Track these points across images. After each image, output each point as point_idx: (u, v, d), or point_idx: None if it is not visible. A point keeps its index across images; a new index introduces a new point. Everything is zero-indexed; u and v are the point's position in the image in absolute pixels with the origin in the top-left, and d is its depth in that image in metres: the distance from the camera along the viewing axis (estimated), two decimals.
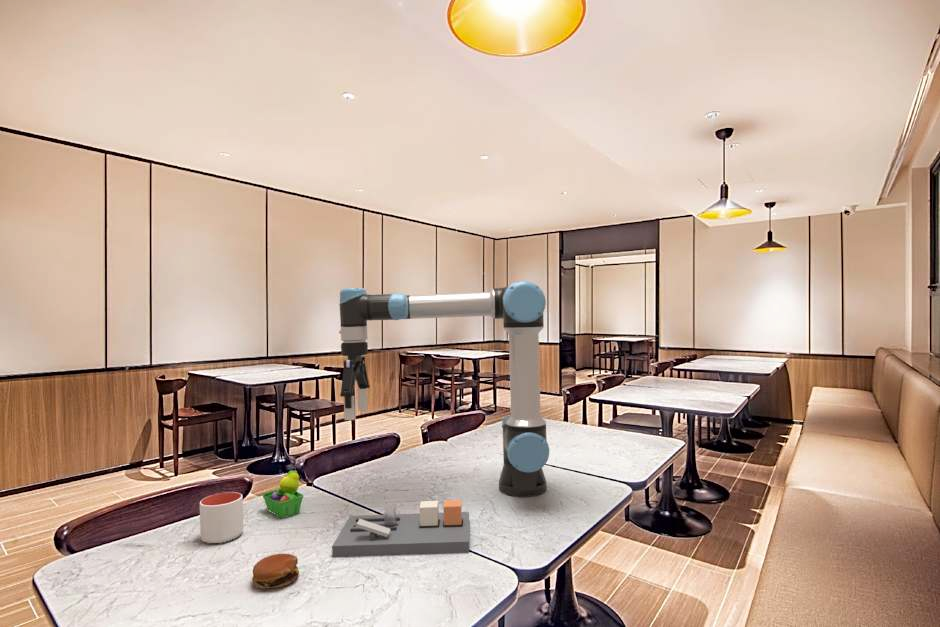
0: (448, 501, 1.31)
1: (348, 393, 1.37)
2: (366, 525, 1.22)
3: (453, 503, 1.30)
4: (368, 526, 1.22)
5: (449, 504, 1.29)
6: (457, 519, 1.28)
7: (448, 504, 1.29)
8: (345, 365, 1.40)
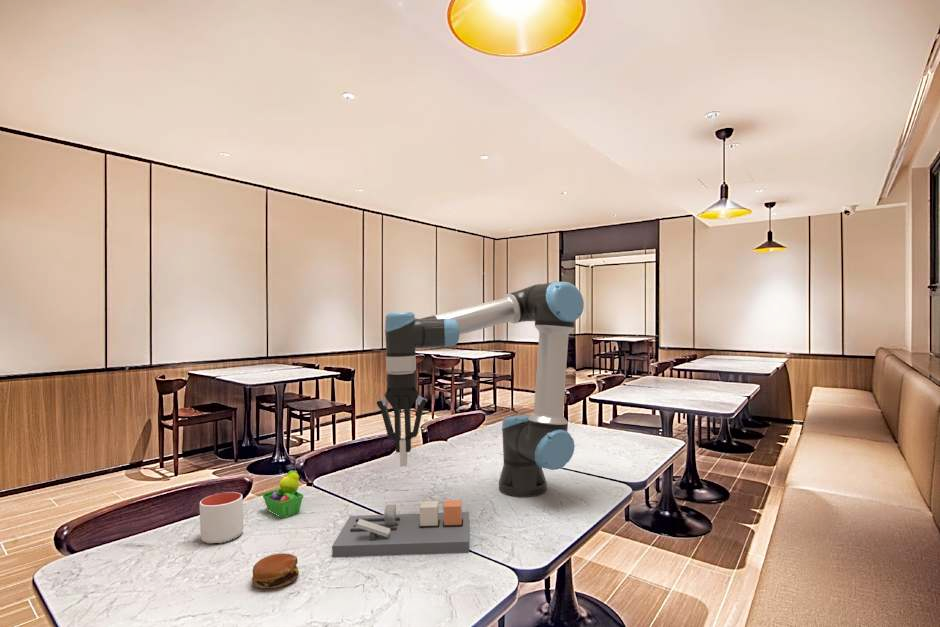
0: (448, 501, 1.31)
1: None
2: (366, 525, 1.22)
3: (453, 503, 1.30)
4: (368, 526, 1.22)
5: (449, 504, 1.29)
6: (457, 519, 1.28)
7: (448, 504, 1.29)
8: None
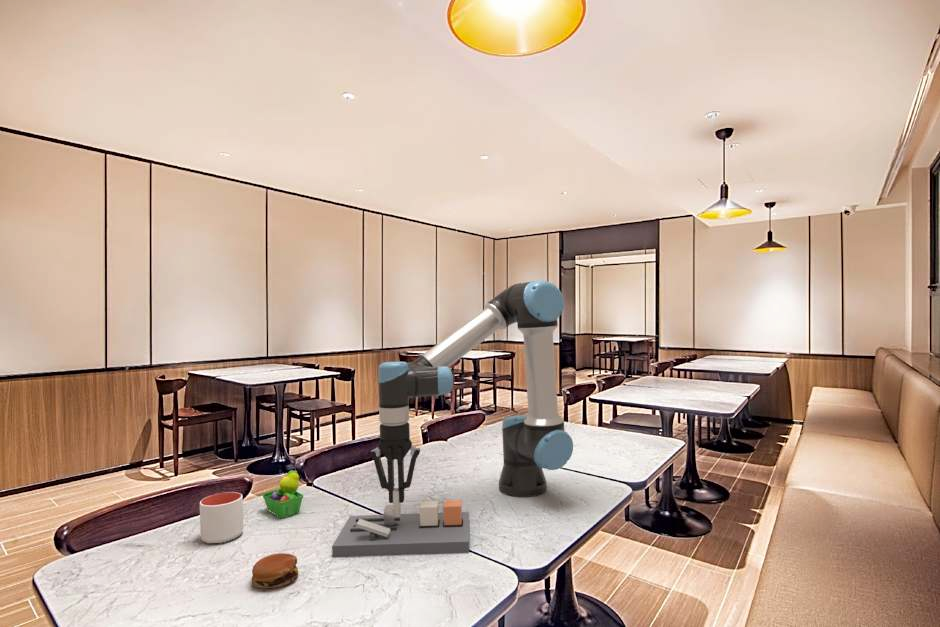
0: (448, 501, 1.31)
1: None
2: (366, 525, 1.22)
3: (453, 503, 1.30)
4: (368, 526, 1.22)
5: (449, 504, 1.29)
6: (457, 519, 1.28)
7: (448, 504, 1.29)
8: None
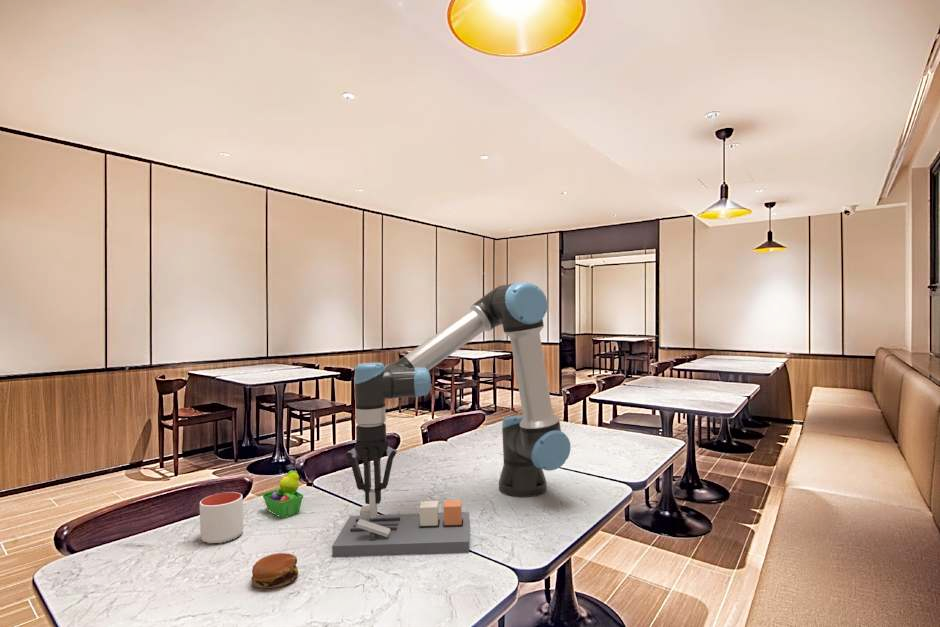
0: (448, 501, 1.31)
1: None
2: (366, 525, 1.22)
3: (453, 503, 1.30)
4: (368, 526, 1.22)
5: (449, 504, 1.29)
6: (457, 519, 1.28)
7: (448, 504, 1.29)
8: None
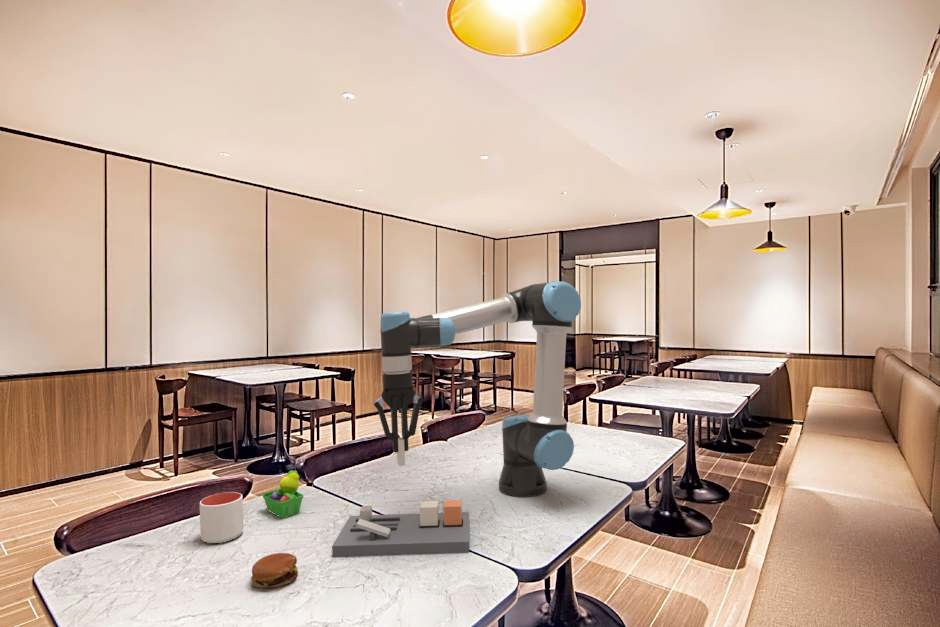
0: (448, 501, 1.31)
1: (387, 437, 1.28)
2: (366, 525, 1.22)
3: (453, 503, 1.30)
4: (368, 526, 1.22)
5: (449, 504, 1.29)
6: (457, 519, 1.28)
7: (448, 504, 1.29)
8: None
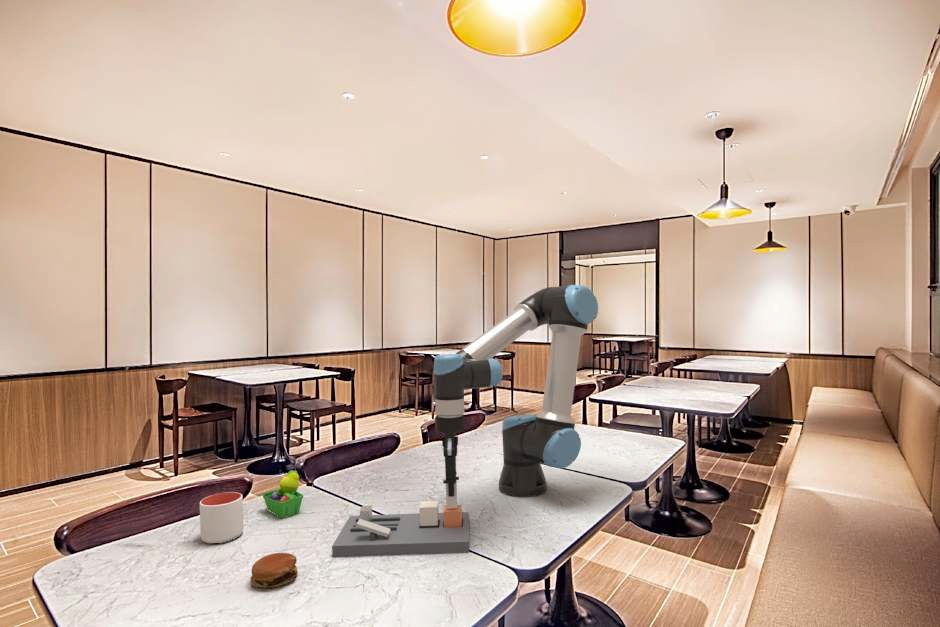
0: None
1: (454, 482, 1.26)
2: (366, 525, 1.22)
3: (454, 508, 1.30)
4: (368, 526, 1.22)
5: (450, 509, 1.29)
6: (457, 524, 1.28)
7: (448, 509, 1.29)
8: (446, 454, 1.24)
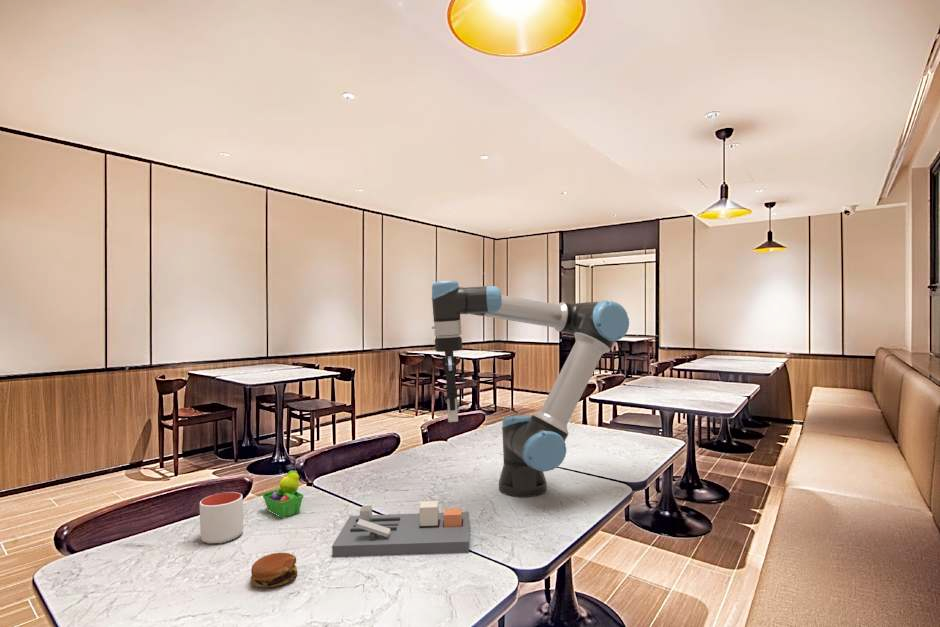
0: (448, 509, 1.31)
1: (455, 396, 1.38)
2: (366, 525, 1.22)
3: (454, 511, 1.30)
4: (368, 526, 1.22)
5: (450, 512, 1.29)
6: None
7: (449, 512, 1.29)
8: (447, 369, 1.36)
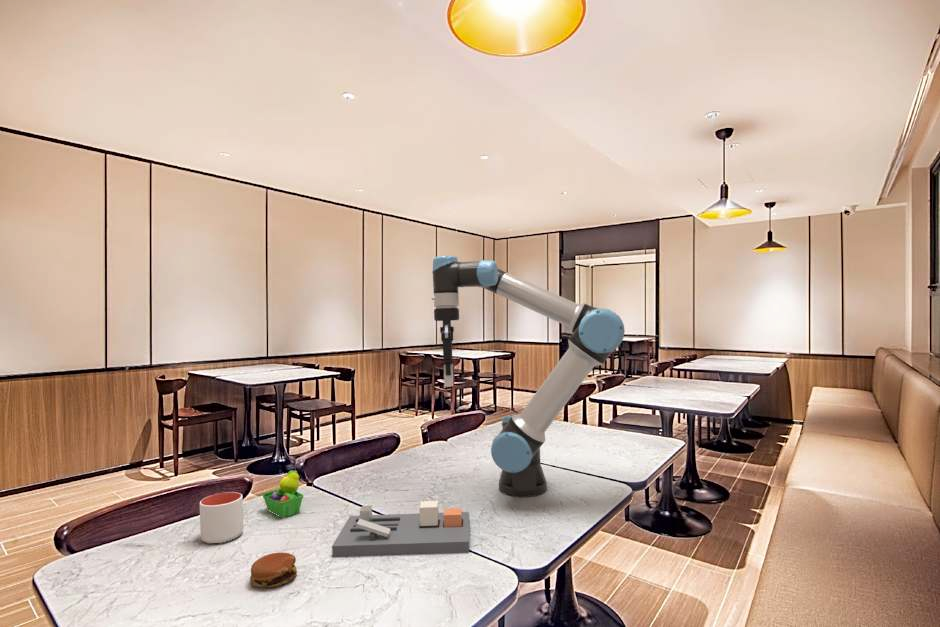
0: (448, 509, 1.31)
1: (450, 362, 1.50)
2: (366, 525, 1.22)
3: (454, 511, 1.30)
4: (368, 526, 1.22)
5: (450, 512, 1.29)
6: None
7: (449, 512, 1.29)
8: (444, 337, 1.47)
